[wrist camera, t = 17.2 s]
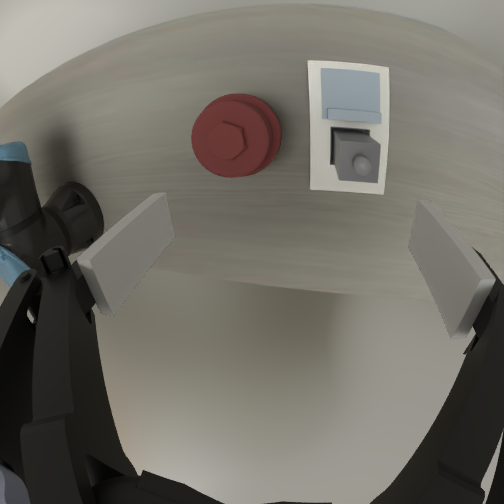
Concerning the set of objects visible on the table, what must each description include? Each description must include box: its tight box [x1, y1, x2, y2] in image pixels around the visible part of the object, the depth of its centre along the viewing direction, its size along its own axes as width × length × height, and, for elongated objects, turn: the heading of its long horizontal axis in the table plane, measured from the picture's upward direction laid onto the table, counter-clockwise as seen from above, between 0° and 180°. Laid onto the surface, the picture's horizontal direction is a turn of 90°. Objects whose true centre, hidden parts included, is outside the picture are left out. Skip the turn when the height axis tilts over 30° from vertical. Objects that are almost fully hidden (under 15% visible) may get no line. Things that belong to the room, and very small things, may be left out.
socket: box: [308, 60, 390, 195], centre depth 31 cm, size 10×17×4 cm, turn 3°
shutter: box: [321, 68, 382, 124], centre depth 26 cm, size 7×6×4 cm
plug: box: [332, 128, 381, 183], centre depth 28 cm, size 4×4×14 cm
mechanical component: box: [191, 94, 282, 178], centre depth 31 cm, size 12×10×10 cm
